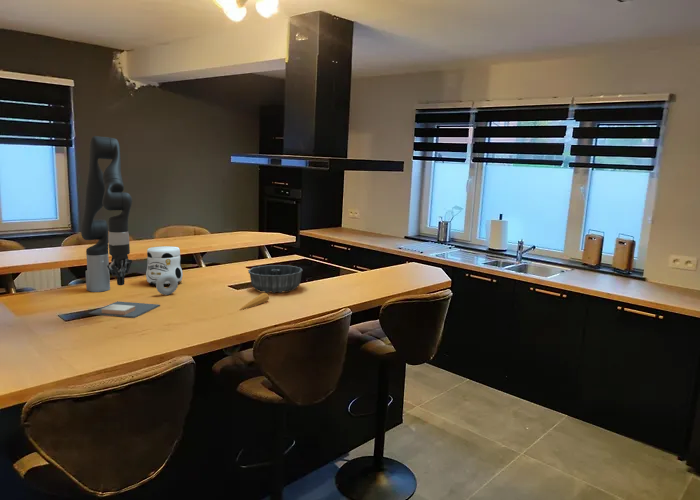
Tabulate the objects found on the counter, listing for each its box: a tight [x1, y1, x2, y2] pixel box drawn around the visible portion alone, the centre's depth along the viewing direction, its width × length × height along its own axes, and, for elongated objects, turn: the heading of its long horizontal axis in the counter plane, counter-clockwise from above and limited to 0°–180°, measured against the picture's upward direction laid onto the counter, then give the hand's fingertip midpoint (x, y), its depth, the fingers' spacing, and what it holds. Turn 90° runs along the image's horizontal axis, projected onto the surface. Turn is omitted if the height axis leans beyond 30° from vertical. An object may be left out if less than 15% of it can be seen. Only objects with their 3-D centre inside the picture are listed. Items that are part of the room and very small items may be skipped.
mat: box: [88, 301, 161, 319], centre depth 207 cm, size 20×18×1 cm
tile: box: [101, 303, 135, 315], centre depth 202 cm, size 10×2×7 cm
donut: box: [155, 274, 179, 296], centre depth 232 cm, size 10×4×10 cm, turn 130°
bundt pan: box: [247, 264, 303, 294], centre depth 247 cm, size 26×26×10 cm
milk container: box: [145, 245, 184, 286], centre depth 253 cm, size 17×17×18 cm
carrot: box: [238, 292, 270, 311], centre depth 217 cm, size 20×4×4 cm, turn 152°
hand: (120, 284), depth 204 cm, fingers closed
